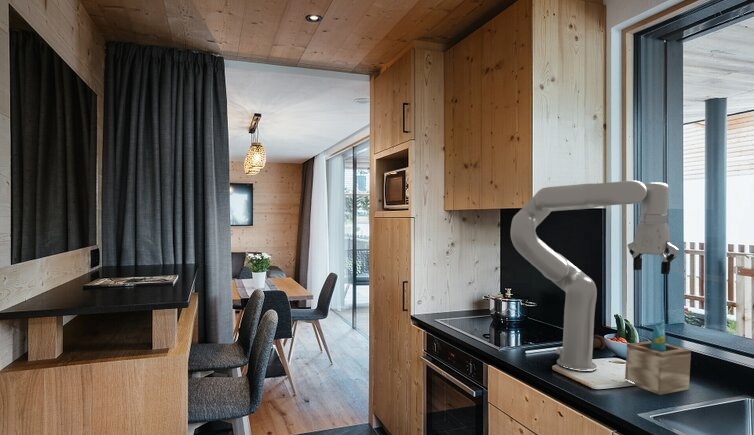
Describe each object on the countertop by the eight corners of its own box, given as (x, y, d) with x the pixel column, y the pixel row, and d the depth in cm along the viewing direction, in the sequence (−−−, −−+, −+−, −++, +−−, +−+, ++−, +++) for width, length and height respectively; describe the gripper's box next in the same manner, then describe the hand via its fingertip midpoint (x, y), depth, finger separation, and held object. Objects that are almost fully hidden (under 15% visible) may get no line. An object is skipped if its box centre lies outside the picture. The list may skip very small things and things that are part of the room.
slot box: (624, 381, 152) (626, 343, 152) (653, 376, 158) (655, 340, 158) (660, 394, 142) (662, 354, 141) (688, 389, 147) (691, 350, 147)
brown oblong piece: (571, 356, 184) (598, 351, 190) (581, 353, 180) (608, 348, 186) (566, 341, 186) (592, 336, 193) (575, 337, 182) (602, 333, 189)
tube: (661, 387, 145) (665, 324, 145) (644, 383, 149) (647, 321, 148) (667, 381, 151) (671, 321, 151) (650, 377, 154) (653, 318, 154)
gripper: (622, 218, 165) (619, 268, 165) (672, 221, 149) (669, 275, 149) (637, 219, 168) (634, 268, 168) (687, 221, 152) (684, 275, 153)
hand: (650, 271), depth 159 cm, fingers open, 9 cm apart
